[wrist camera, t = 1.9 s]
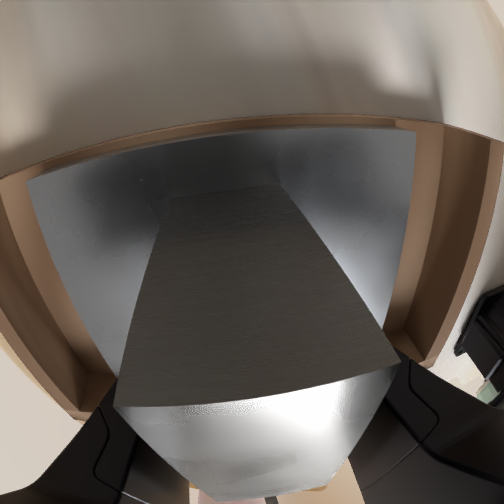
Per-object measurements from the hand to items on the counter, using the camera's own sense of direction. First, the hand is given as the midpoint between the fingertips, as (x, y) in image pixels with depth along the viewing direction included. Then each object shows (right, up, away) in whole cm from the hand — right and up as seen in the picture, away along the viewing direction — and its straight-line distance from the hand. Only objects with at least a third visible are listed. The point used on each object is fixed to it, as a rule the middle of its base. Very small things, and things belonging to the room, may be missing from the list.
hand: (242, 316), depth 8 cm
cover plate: (0, +1, +2) cm, 3 cm away
